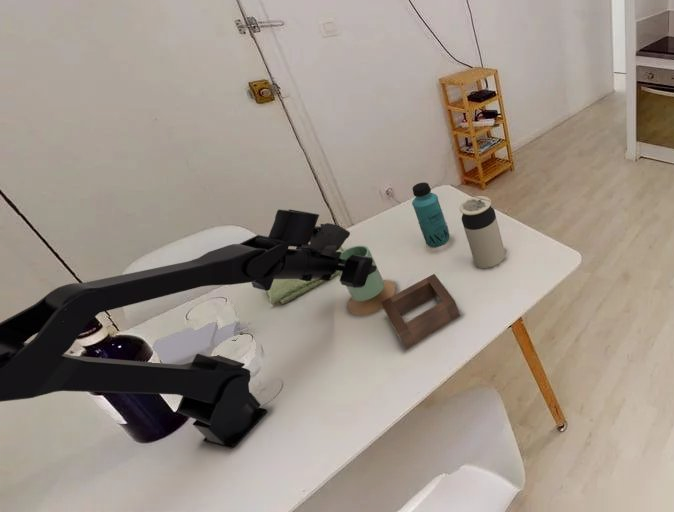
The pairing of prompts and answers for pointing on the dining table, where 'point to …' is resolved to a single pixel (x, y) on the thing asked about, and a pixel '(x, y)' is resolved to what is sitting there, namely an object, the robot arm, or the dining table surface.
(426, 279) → the cup holder
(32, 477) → the dining table surface
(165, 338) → the charger
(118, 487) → the dining table surface
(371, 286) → the cup
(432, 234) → the beverage bottle
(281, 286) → the washcloth
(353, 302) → the coaster
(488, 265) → the travel mug
